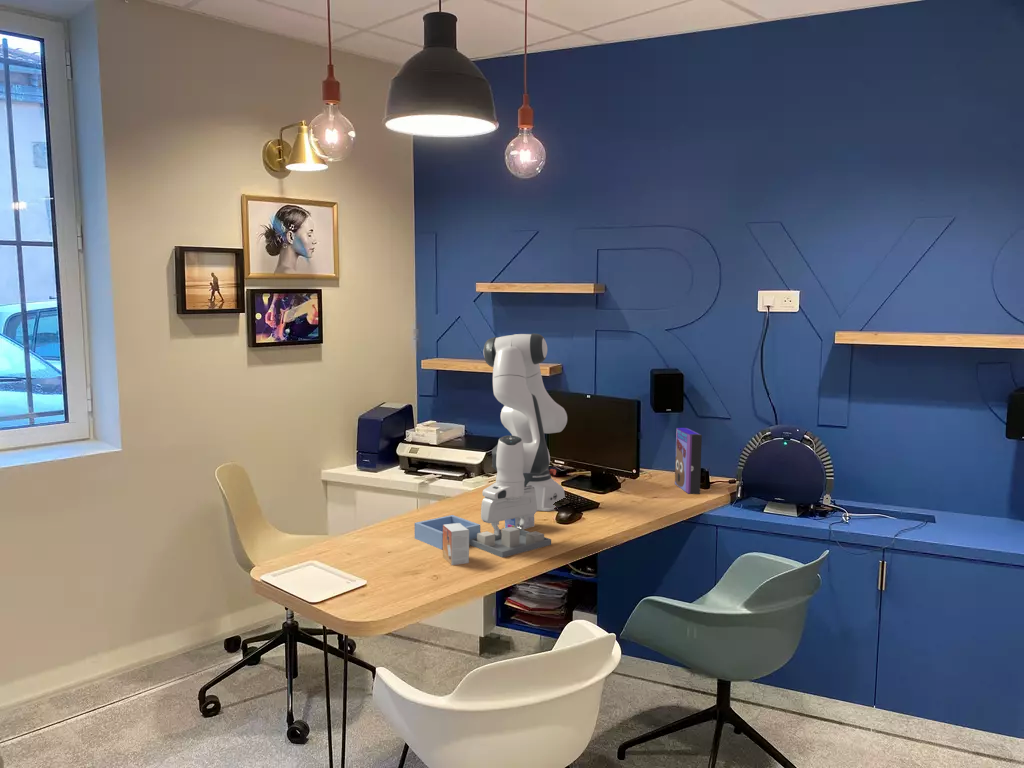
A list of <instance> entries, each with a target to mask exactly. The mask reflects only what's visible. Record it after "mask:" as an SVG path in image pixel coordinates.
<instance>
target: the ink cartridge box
mask: <svg viewBox="0 0 1024 768" xmlns="http://www.w3.org/2000/svg"><path fill="white" fill-rule="evenodd" d="M520 520H521V518H520V517H518V518H513V519H508V520H504V528H508V527H514V528H517V527H518V526H517V524H519V523H520ZM534 527H535V514H532V515H528V519H527V521H526V523H525V528H524V530H525V529H526V530H527V529H531V528H534Z"/></svg>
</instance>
